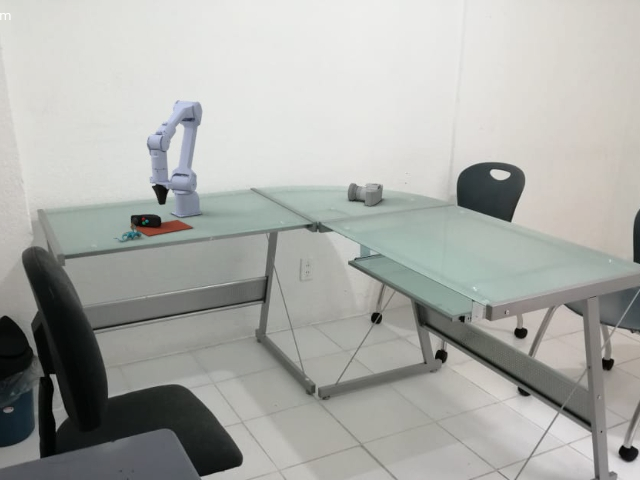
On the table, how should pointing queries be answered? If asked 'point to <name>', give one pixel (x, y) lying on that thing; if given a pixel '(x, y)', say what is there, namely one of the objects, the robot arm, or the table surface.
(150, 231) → the mat
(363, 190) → the digital camera
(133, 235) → the dragon figurine
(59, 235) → the table surface
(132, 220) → the controller
